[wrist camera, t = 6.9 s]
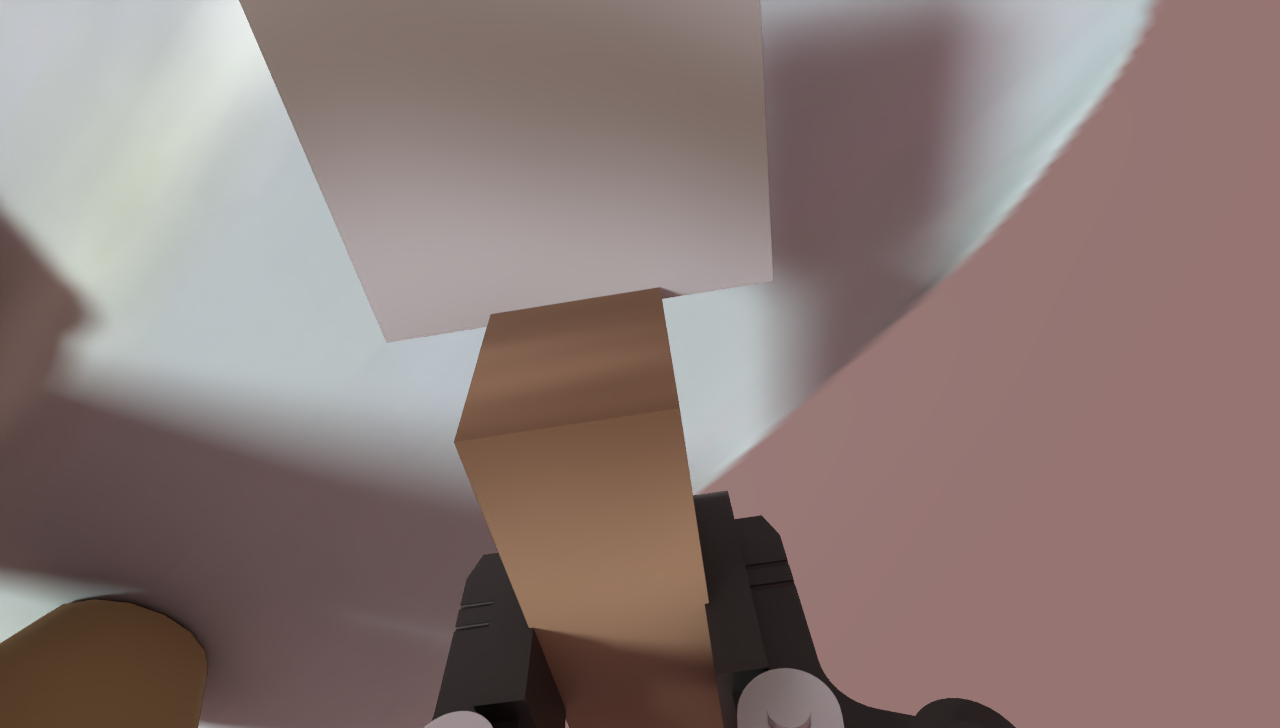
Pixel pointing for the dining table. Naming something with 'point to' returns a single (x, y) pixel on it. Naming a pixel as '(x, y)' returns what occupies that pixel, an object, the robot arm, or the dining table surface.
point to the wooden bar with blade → (553, 279)
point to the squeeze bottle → (102, 670)
